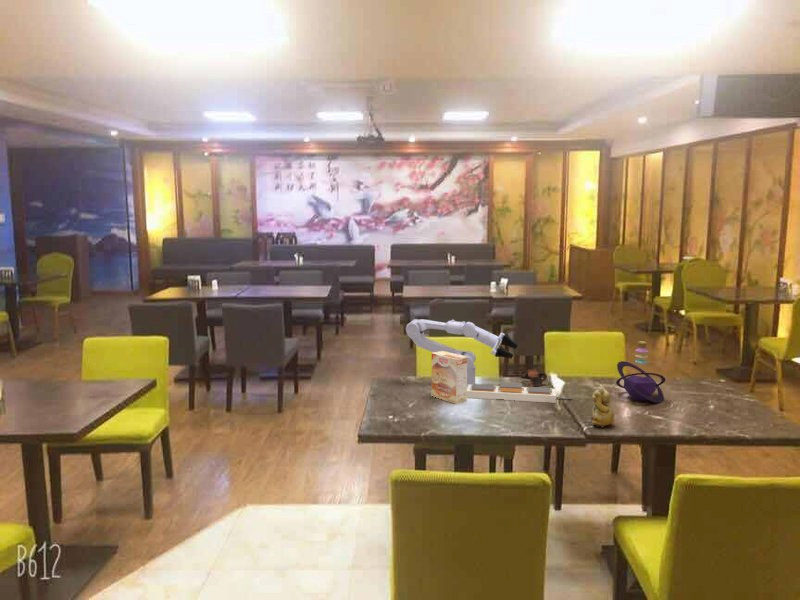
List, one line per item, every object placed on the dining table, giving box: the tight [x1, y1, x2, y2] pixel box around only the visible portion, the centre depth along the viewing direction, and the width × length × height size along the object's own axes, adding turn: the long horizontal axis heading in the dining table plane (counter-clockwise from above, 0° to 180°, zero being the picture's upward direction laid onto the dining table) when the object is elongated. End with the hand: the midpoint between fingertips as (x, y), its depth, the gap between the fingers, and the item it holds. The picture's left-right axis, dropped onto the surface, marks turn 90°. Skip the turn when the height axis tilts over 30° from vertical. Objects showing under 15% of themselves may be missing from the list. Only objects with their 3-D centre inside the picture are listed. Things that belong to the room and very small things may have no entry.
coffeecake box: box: [430, 351, 468, 405], centre depth 273 cm, size 15×7×20 cm, turn 42°
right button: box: [528, 386, 551, 395], centre depth 275 cm, size 9×7×2 cm
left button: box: [472, 383, 495, 392], centre depth 279 cm, size 9×7×2 cm
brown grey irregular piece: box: [520, 368, 548, 387], centre depth 297 cm, size 12×10×8 cm
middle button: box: [499, 381, 523, 392], centre depth 277 cm, size 9×7×2 cm
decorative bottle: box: [615, 340, 667, 404], centre depth 272 cm, size 22×21×25 cm
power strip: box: [467, 384, 573, 404], centre depth 277 cm, size 45×11×3 cm, turn 79°
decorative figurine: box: [591, 383, 615, 428], centre depth 240 cm, size 10×8×15 cm
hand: (514, 351), depth 285 cm, fingers open, 7 cm apart
